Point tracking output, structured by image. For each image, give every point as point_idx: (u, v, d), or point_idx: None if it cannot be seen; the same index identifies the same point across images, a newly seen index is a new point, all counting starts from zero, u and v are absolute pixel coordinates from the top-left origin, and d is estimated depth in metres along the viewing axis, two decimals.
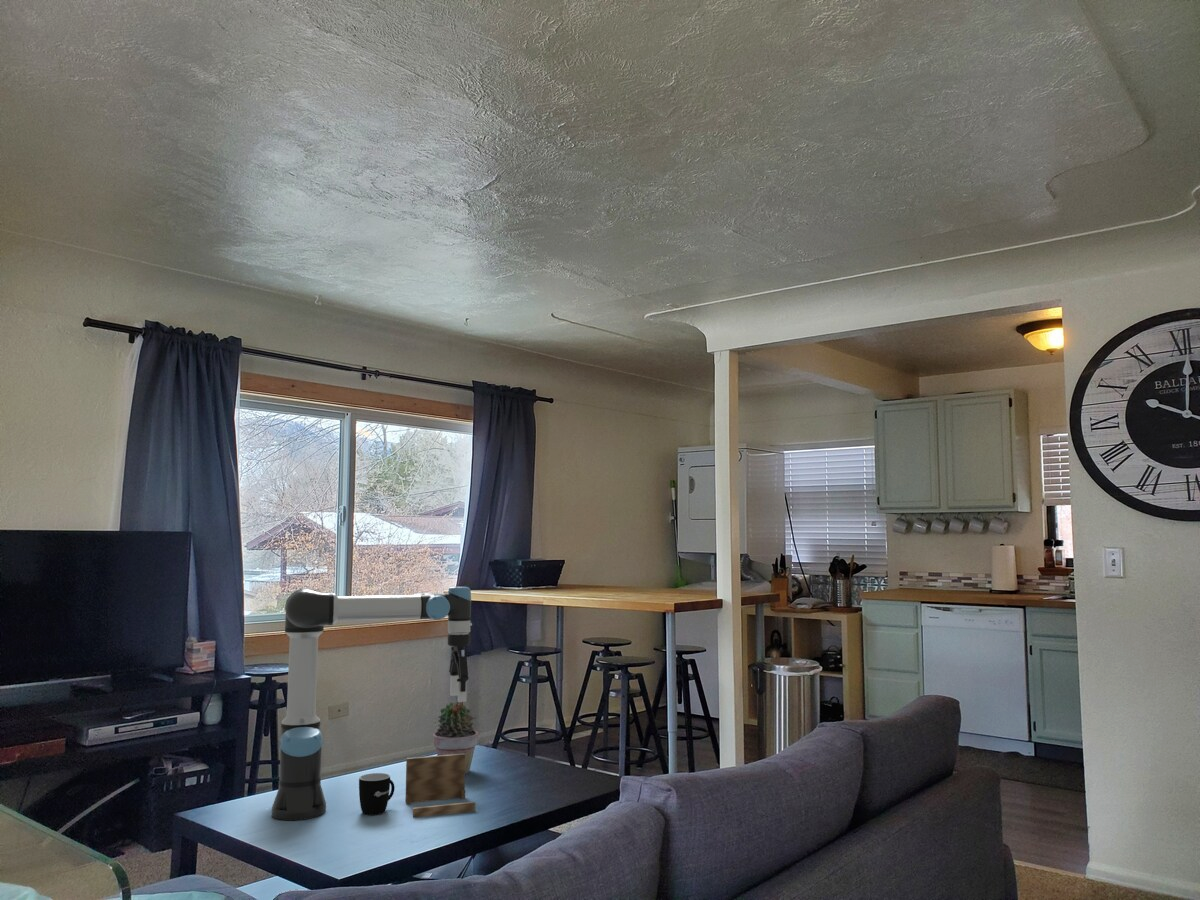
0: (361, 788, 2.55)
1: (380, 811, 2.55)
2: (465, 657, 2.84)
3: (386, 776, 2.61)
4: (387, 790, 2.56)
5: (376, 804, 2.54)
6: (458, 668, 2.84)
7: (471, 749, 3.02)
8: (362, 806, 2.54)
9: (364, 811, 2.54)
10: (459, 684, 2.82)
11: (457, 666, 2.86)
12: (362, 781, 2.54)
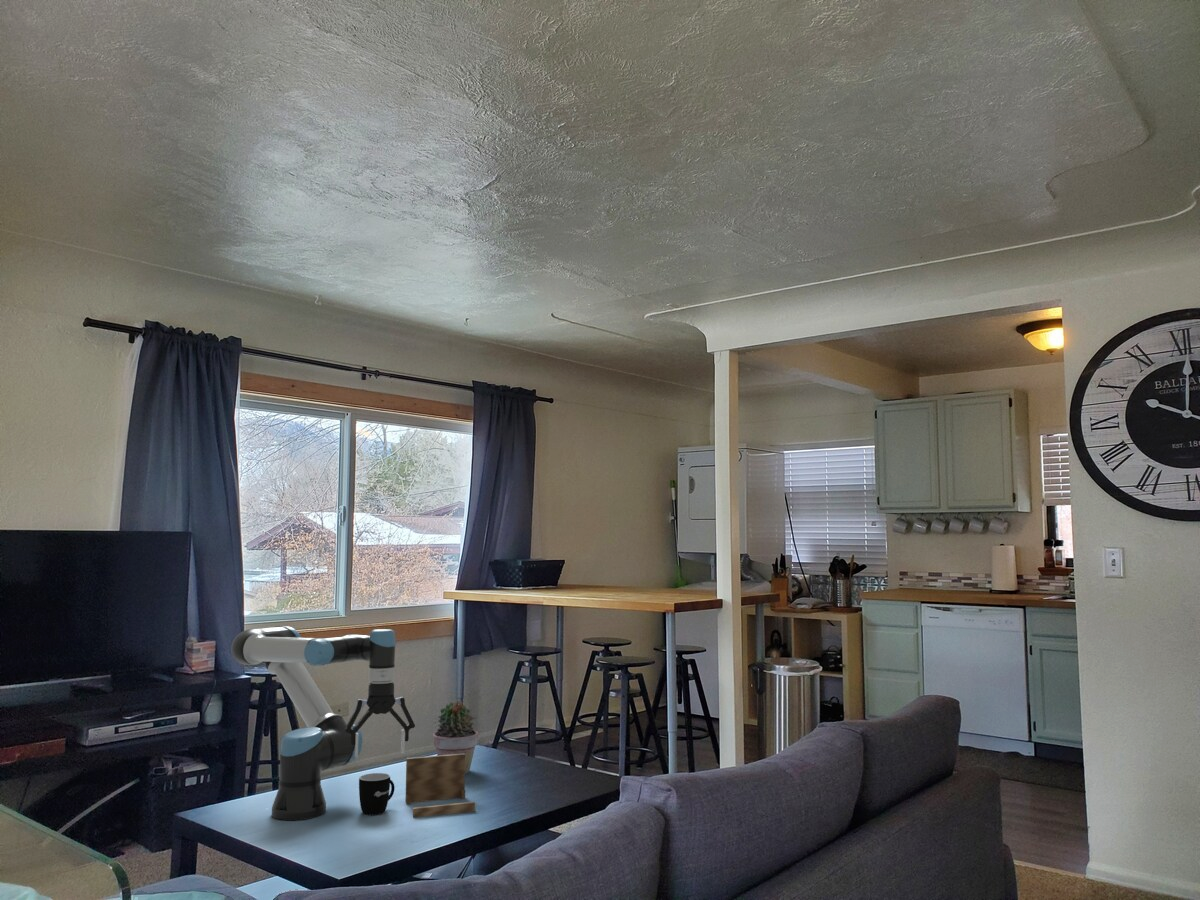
0: (361, 788, 2.55)
1: (380, 811, 2.55)
2: (356, 708, 2.59)
3: (386, 776, 2.61)
4: (387, 790, 2.56)
5: (376, 804, 2.54)
6: (360, 719, 2.60)
7: (471, 749, 3.02)
8: (362, 806, 2.54)
9: (364, 811, 2.54)
10: None
11: None
12: (362, 781, 2.54)
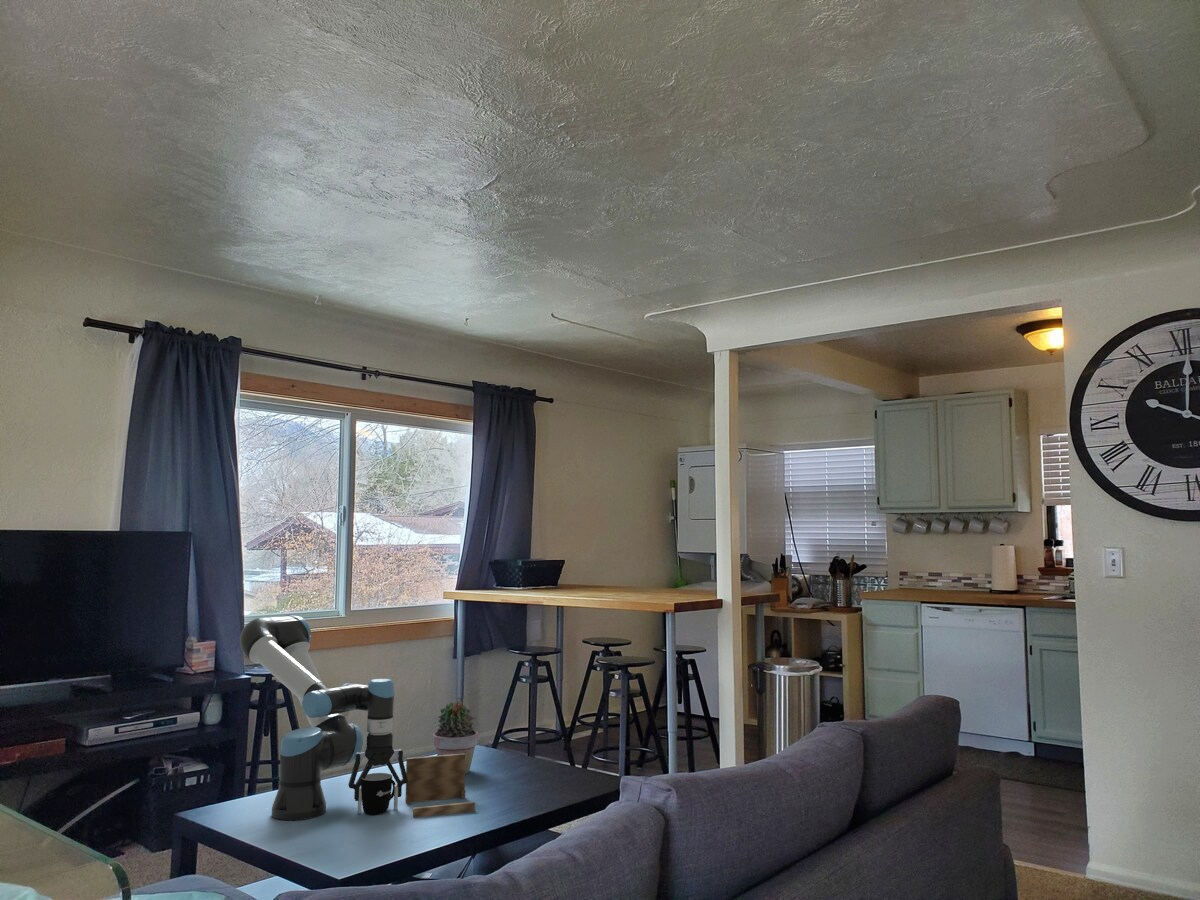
0: (363, 788, 2.55)
1: (382, 811, 2.55)
2: (355, 762, 2.57)
3: (388, 776, 2.61)
4: (389, 790, 2.57)
5: (378, 804, 2.54)
6: None
7: (471, 749, 3.02)
8: (364, 806, 2.54)
9: (366, 811, 2.54)
10: None
11: None
12: (364, 781, 2.55)
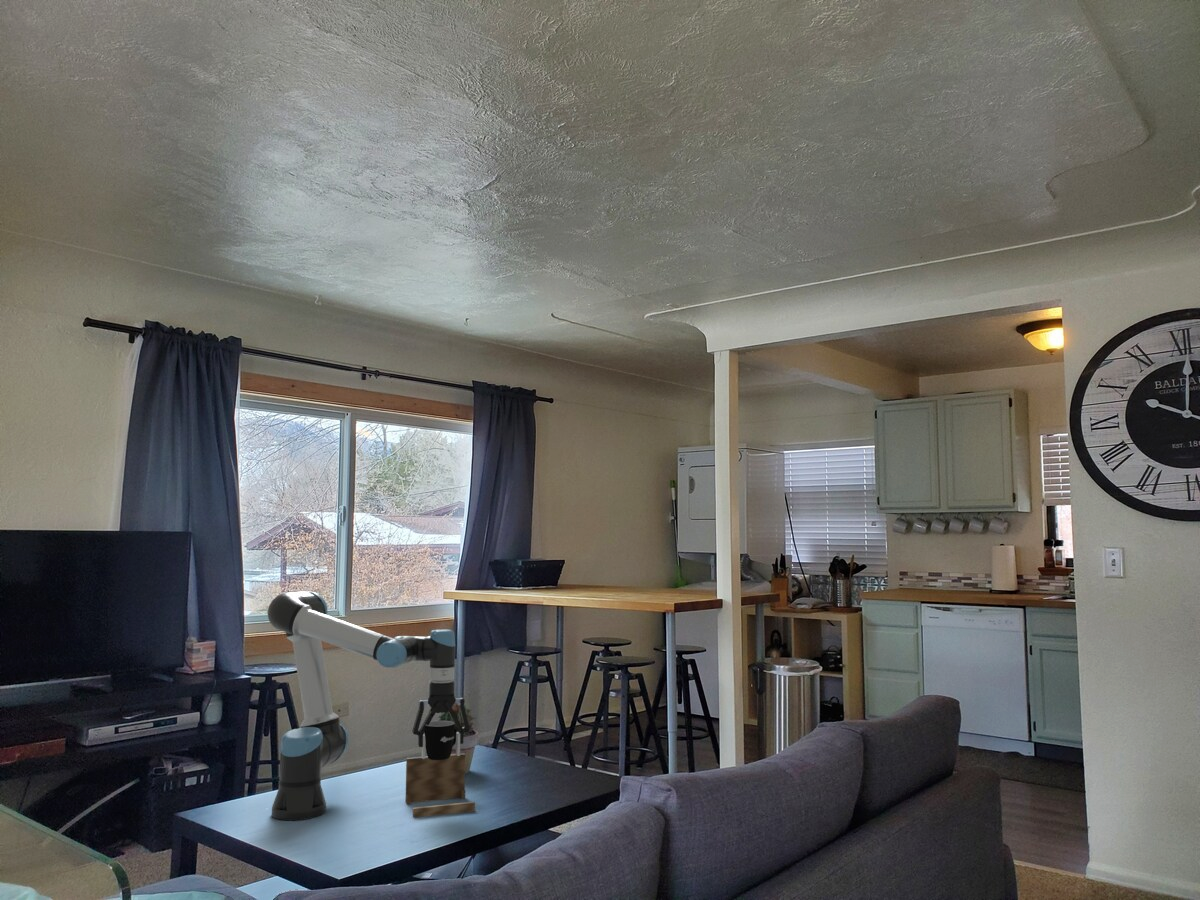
0: (427, 734, 2.61)
1: (446, 756, 2.61)
2: (419, 709, 2.63)
3: (450, 723, 2.67)
4: (452, 736, 2.63)
5: (442, 749, 2.60)
6: (425, 720, 2.65)
7: (471, 749, 3.02)
8: (428, 751, 2.61)
9: (430, 756, 2.60)
10: None
11: None
12: (428, 727, 2.61)
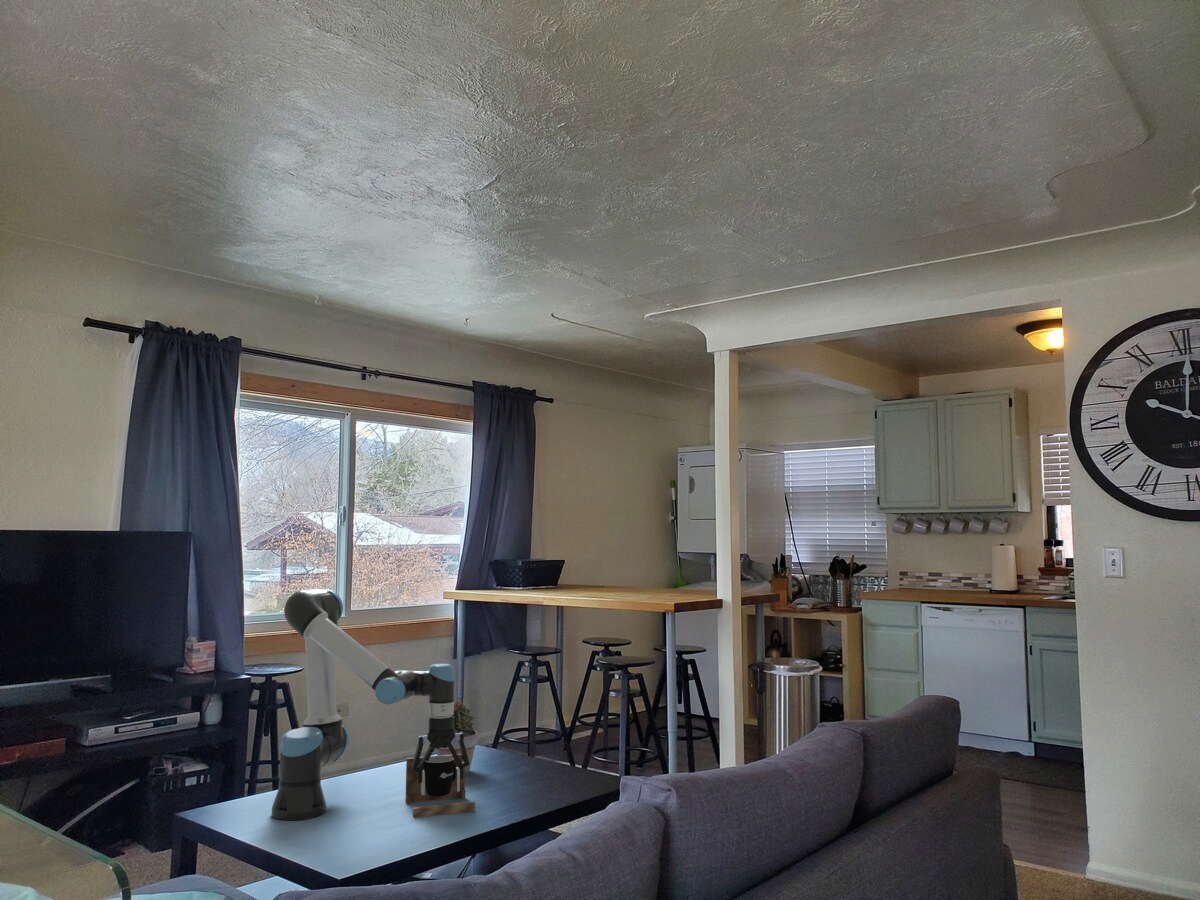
0: (427, 770, 2.60)
1: (446, 792, 2.60)
2: (418, 745, 2.62)
3: (449, 758, 2.66)
4: (452, 772, 2.62)
5: (442, 785, 2.59)
6: (424, 755, 2.64)
7: (471, 749, 3.02)
8: (428, 787, 2.59)
9: (430, 792, 2.59)
10: None
11: None
12: (428, 763, 2.60)
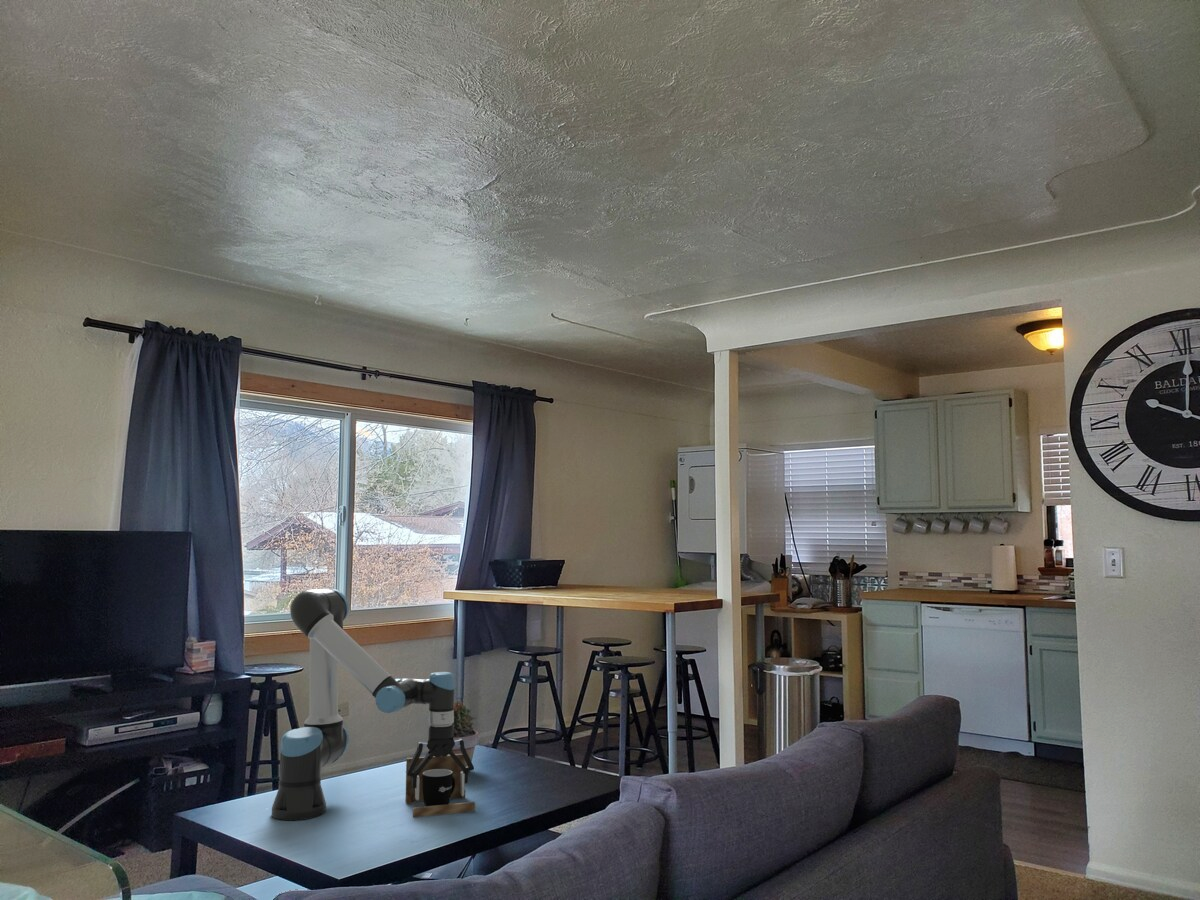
0: (425, 784, 2.59)
1: None
2: (417, 751, 2.61)
3: (448, 772, 2.66)
4: (450, 785, 2.61)
5: (440, 799, 2.58)
6: (421, 761, 2.63)
7: (471, 749, 3.02)
8: (426, 801, 2.59)
9: None
10: None
11: None
12: (426, 777, 2.59)
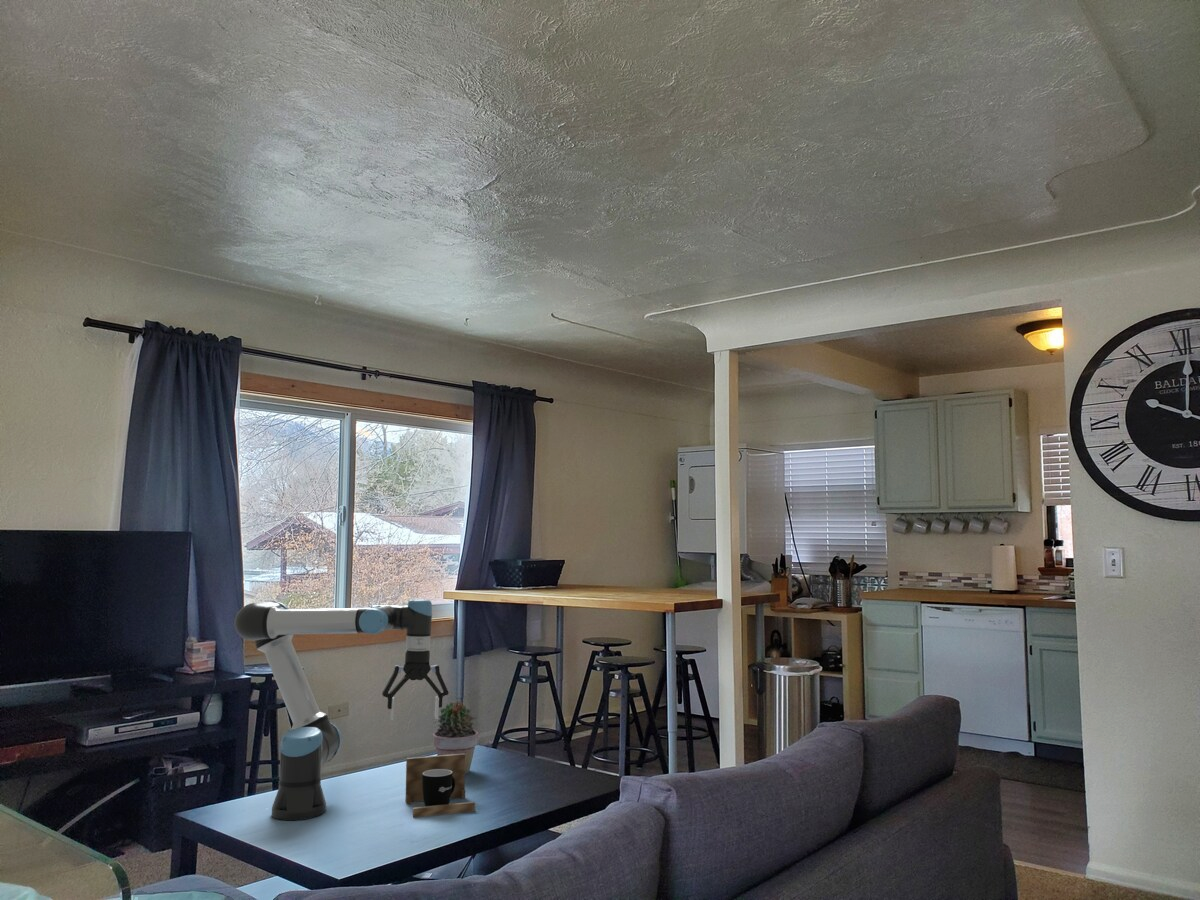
0: (425, 784, 2.59)
1: None
2: (393, 673, 2.70)
3: (448, 772, 2.66)
4: (450, 785, 2.61)
5: (440, 799, 2.58)
6: (397, 684, 2.72)
7: (471, 749, 3.02)
8: (426, 801, 2.59)
9: None
10: None
11: None
12: (426, 777, 2.59)
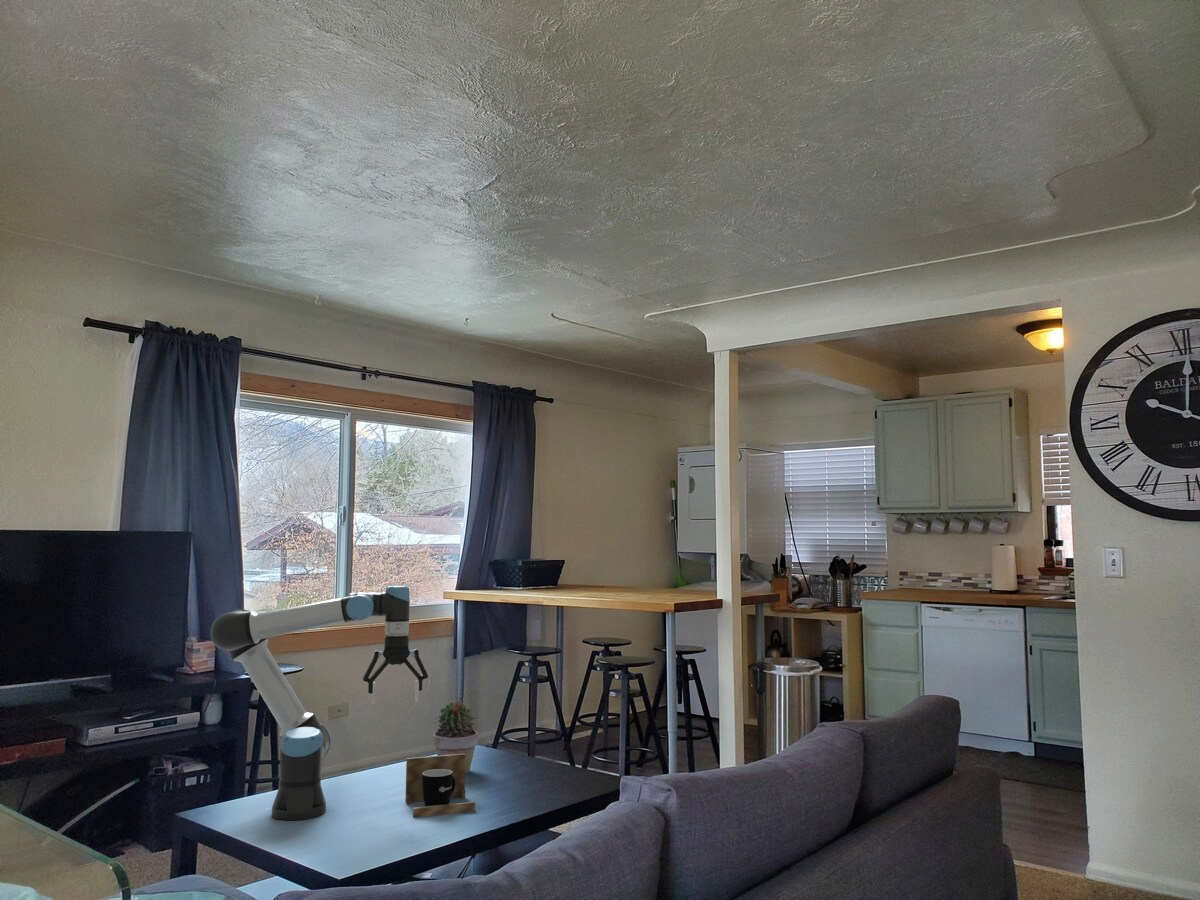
0: (425, 784, 2.59)
1: None
2: (373, 658, 2.75)
3: (448, 772, 2.66)
4: (450, 785, 2.61)
5: (440, 799, 2.58)
6: (377, 669, 2.77)
7: (471, 749, 3.02)
8: (426, 801, 2.59)
9: None
10: None
11: None
12: (426, 777, 2.59)
